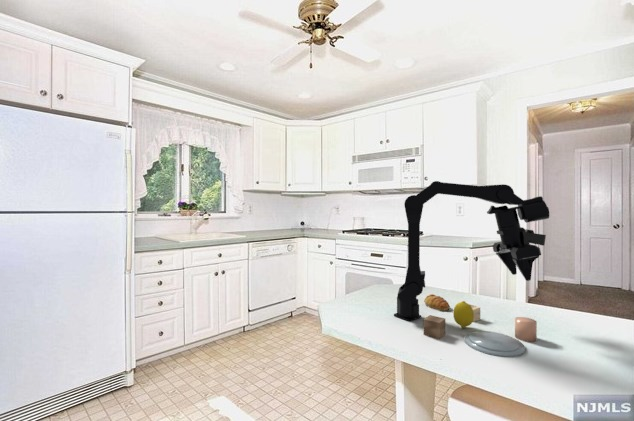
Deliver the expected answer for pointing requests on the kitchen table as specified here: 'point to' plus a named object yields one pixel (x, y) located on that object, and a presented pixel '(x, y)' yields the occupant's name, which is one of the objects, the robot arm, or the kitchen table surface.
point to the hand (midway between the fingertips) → (521, 277)
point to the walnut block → (434, 326)
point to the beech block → (476, 312)
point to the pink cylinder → (526, 329)
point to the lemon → (463, 314)
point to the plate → (494, 343)
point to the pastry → (436, 302)
